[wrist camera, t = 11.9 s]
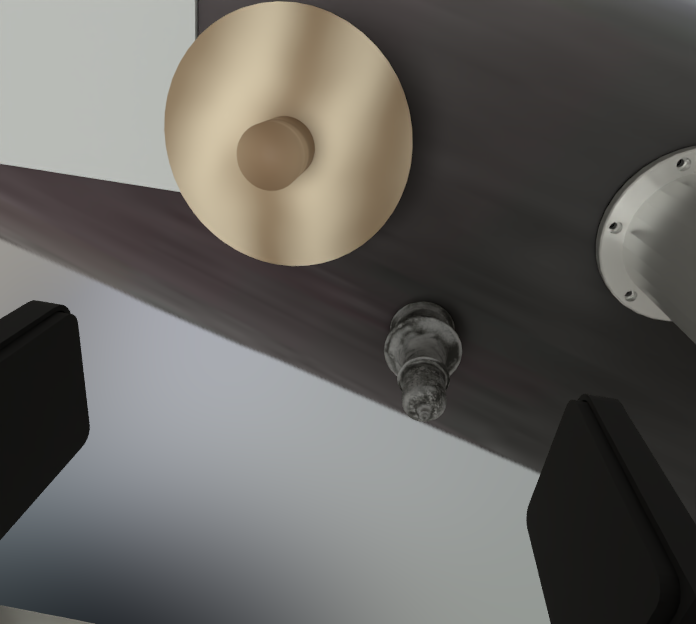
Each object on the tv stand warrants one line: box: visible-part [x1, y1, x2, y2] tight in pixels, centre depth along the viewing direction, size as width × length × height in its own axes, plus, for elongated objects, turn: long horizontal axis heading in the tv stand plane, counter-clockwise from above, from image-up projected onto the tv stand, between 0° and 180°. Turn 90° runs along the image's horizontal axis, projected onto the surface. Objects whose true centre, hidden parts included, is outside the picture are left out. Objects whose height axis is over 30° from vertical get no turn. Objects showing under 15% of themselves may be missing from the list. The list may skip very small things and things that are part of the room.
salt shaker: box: [384, 301, 462, 422], centre depth 37 cm, size 6×6×12 cm
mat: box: [0, 0, 197, 192], centre depth 36 cm, size 17×17×1 cm
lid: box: [164, 1, 413, 266], centre depth 29 cm, size 15×15×5 cm
